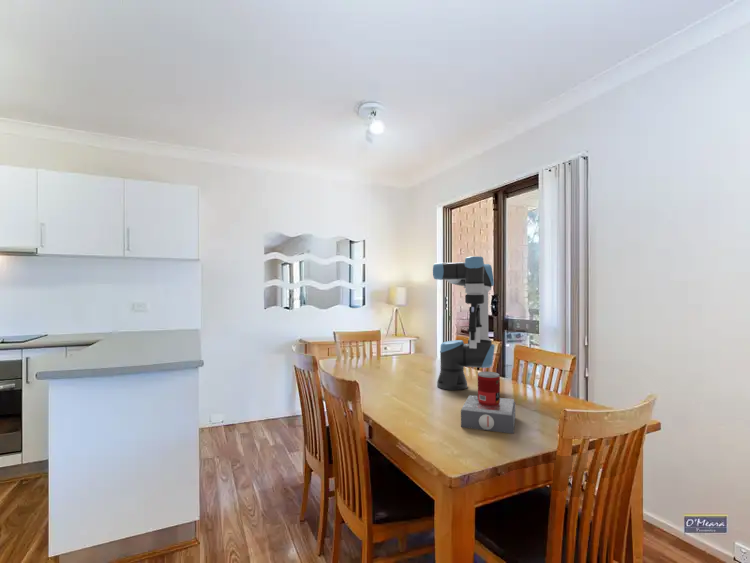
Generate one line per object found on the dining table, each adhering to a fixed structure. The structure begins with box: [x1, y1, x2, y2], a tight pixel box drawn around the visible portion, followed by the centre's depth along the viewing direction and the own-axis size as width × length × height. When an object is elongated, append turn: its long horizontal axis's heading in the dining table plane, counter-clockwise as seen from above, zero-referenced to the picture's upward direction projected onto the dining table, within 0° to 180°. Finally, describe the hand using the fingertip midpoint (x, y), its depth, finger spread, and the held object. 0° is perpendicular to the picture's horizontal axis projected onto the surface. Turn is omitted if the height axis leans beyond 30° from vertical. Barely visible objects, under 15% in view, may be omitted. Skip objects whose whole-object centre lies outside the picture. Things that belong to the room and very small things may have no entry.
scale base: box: [460, 401, 516, 435], centre depth 147 cm, size 19×18×6 cm
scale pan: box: [461, 394, 515, 416], centre depth 148 cm, size 17×17×1 cm
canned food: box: [477, 371, 501, 406], centre depth 148 cm, size 8×8×11 cm
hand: (475, 345), depth 162 cm, fingers open, 13 cm apart
